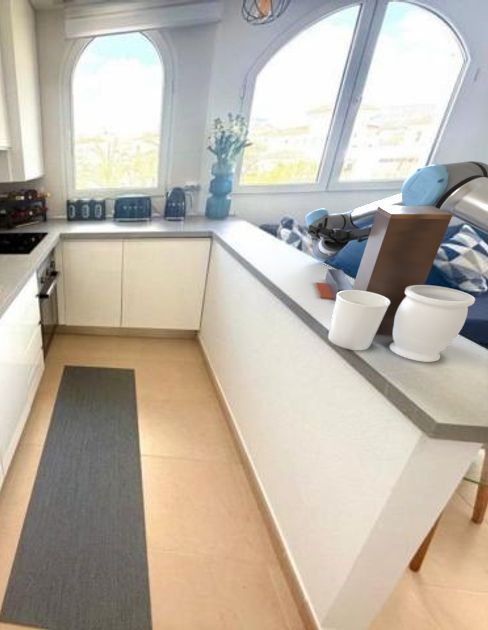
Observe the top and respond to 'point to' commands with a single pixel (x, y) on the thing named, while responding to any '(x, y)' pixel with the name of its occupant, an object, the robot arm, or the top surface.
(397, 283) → the stand
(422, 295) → the jar
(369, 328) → the white flower pot
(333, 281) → the slim box
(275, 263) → the top surface
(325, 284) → the mat
